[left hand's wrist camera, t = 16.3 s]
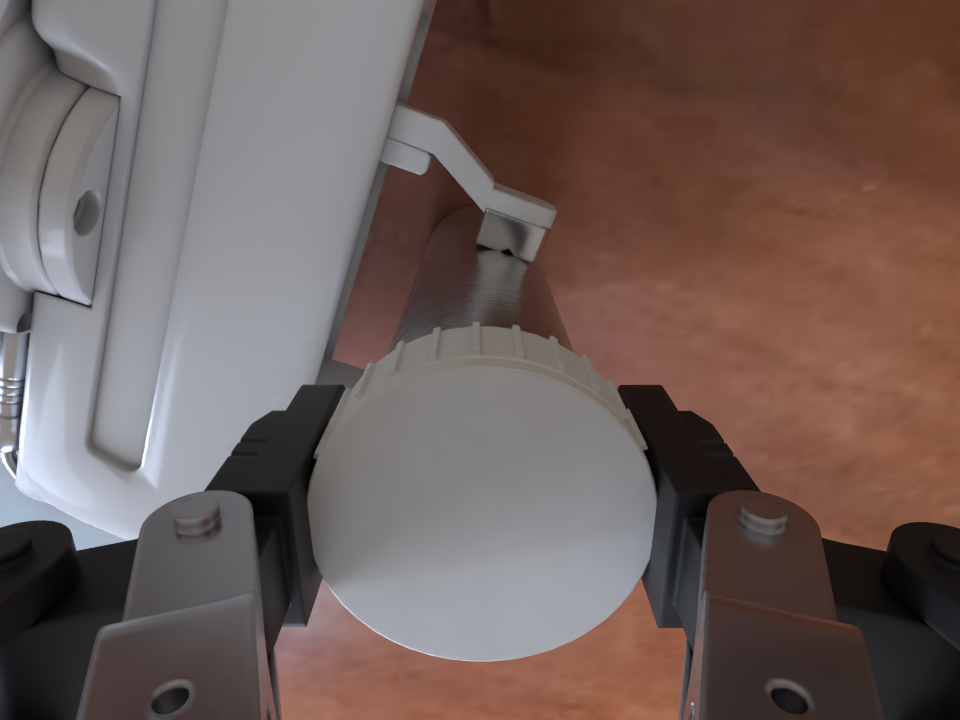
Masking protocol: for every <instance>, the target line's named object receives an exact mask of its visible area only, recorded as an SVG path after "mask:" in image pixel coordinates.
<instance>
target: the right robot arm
mask: <svg viewBox="0 0 960 720" xmlns="http://www.w3.org/2000/svg"><path fill="white" fill-rule="evenodd" d="M436 2H437V0H0V458H1V460H2V462H3V465H4V467H5V468H6V470H7V471H8V473H9V474H10V475H11V477H12V478H13V479H14V480H15V484H16V486H17V488H18V489H19V491H21V492H23V493H24V494H26V495H27V496H29V497H31V498H34V499H36V500H39V501H42V502H46V503H49V504H52V505H53V506H55V507H57V508H58V509H60V510H62V511H63V512H65V513H67V514H69V515H71V516H73V517H75V518H77V519H79V520H81V521H83V522H85V523H88V524H90V525H92V526H95V527H97V528H99V529H102V530H104V531H106V532H109V533H111V534H113V535H116V536H118V537H121V538H123V539H126V540H128V541H129V540H133V539H137V538H138V537H139V532H140V529H141V526H142V524H143V522H144V521H145V519H146V518H147V517H148V516H149V515H150V514H151V513H153V512H154V511H155V510H156V509H158V508H159V507H161V506H162V505H164V504H166V503H168V502H170V501H172V500H174V499H177V498H179V497H182V496H185V495H188V494H192V493H197V492H202V491H204V490H205V489H206V487H207V486H208V484H209V483H210V482H211V480H212V479H213V477H214V476H215V474H216V473H217V472H218V470H219V469H220V467H221V466H222V465H223V463H224V462H225V460H226V459H227V458H228V456H231V452H232V450H233V449H234V448H235V446H236V445H237V443H240V439H241V438H242V436H243V435H244V434H245V432H246V431H247V429H248V428H249V426H250V425H251V424H252V423H254V422H255V421H257V420H258V419H260V418H261V417H263V416H265V415H266V414H268V413H269V412H271V411H272V410H286V409H287V408H288V406H289V404H290V403H291V401H292V400H293V398H294V396H295V395H296V393H297V392H298V390H299V388H300V387H301V386H302V385H344V386H345V389H346V388H347V387H348V388H350V389H353V387H354V386H355V385H356V384H357V382H358V381H359V380H360V378H361V377H362V376H363V373H364V370H363V369H360V368H357V367H354V366H351V365H348V364H345V363H342V362H339V361H336V360H332V358H333V355H334V351H335V348H336V345H337V341H338V338H339V334H340V331H341V327H342V324H343V321H344V317H345V314H346V310H347V307H348V303H349V300H350V297H351V293H352V290H353V286H354V283H355V279H356V276H357V273H358V269H359V266H360V262H361V259H362V255H363V252H364V249H365V245H366V242H367V238H368V235H369V231H370V228H371V225H372V221H373V218H374V214H375V211H376V207H377V204H378V201H379V197H380V194H381V190H382V187H383V184H384V180H385V177H386V173H387V170H388V166H389V164H390V165H393V166H396V167H399V168H401V169H404V170H407V171H410V172H413V173H416V174H418V175H422V174H424V173H425V172H427V170H428V169H429V168H430V167H431V165H432V162H433V159H434V156H436V157H437V159H438V160H439V161H440V162H441V163H442V164H443V166H444V167H445V168H446V169H447V170H448V171H449V173H450V174H451V175H452V176H453V177H454V178H455V179H456V181H457V182H458V183H459V184H460V185H461V186H462V188H463V189H464V190H465V191H466V192H467V193H468V195H469V196H470V197H471V198H472V199H473V200H474V202H475V203H476V204H477V205H478V206H479V207H480V209H481V210H482V213H481V216H480V219H479V222H478V225H477V229H476V243H477V244H480V245H483V246H485V247H488V248H491V249H494V250H498V251H502V250H506V249H510V250H511V252H512V253H513V255H514V256H515V257H517V258H519V259H522V260H525V261H529V262H537V261H538V258H539V256H540V254H541V251H542V249H543V246H544V244H545V241H546V239H547V237H548V234H549V232H550V229H551V226H552V224H553V221H554V219H555V216H556V214H557V212H558V211H557V210H556V208H555V207H554V206H553V205H552V204H550V203H548V202H546V201H544V200H542V199H539V198H536V197H534V196H531V195H528V194H526V193H523V192H520V191H517V190H515V189H512V188H509V187H507V186H504V185H501V184H498V183H496V182H495V181H494V177H493V175H492V174H491V173H490V172H489V171H488V169H487V168H486V167H485V166H484V164H483V163H482V162H481V161H480V160H479V158H478V157H477V156H476V155H475V154H474V152H473V151H472V150H471V149H470V147H469V146H468V145H467V144H466V143H465V141H464V140H463V139H462V138H461V136H460V135H459V134H458V133H457V132H456V130H455V129H454V128H453V127H452V125H451V124H450V123H449V122H448V121H447V120H446V119H444V118H441V117H438V116H436V115H433V114H430V113H428V112H425V111H422V110H420V109H417V108H415V107H412V106H409V105H407V101H408V98H409V94H410V91H411V88H412V84H413V81H414V77H415V74H416V70H417V67H418V64H419V60H420V57H421V53H422V50H423V46H424V43H425V40H426V36H427V33H428V29H429V26H430V23H431V19H432V16H433V12H434V9H435V5H436ZM17 450H19V452H18V457H17V455H16V451H17Z"/></svg>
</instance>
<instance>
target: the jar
mask: <svg viewBox="0 0 960 720" xmlns="http://www.w3.org/2000/svg"><path fill="white" fill-rule="evenodd" d="M481 213H482V210H481V209H480V207H479V206H478V205H472V206H467V207H463V208H461V209H458V210H456V211H454V212H452V213H451V214H449V215H448V216H446V217H445V218H444V219H443V220H442V221H441V222H440V223H439V224H438V225H437V227H436V228H435V229H434V231H433V233H432V234H431V237H430V239H429V241H428V244H427V247H426V250H425V252H424V255H423V258H422V261H421V264H420V266H419V269H418V272H417V275H416V277H415V280H414V283H413V286H412V288H411V291H410V294H409V297H408V300H407V302H406V305H405V308H404V311H403V313H402V316H401V319H400V322H399V324H398V327H397V330H396V333H395V336H394V338H393V341H392V344H391V347H390V349H389V352H388V354H389V353H391V352H392V351H394V350H395V349H396V346H397V343H398V342H400V341H402V340H404V342H405V343H406V344H407V343H408V342H411V341H413V340H416V339H418V338H421V337H423V336H426V335H428V334H432V333H433V329H434V328H437V327H440V328H441V331H444V330H448V329H454V328H462V327H470V326H473V322H480V326H494V327H502V328H510V329H512V326H513V325H518V326H520V330H521V331H524V332H528V333H532V334H536V335H538V336H541V337H543V338H546V339H548V340H549V338H550V336H553V337H555V338H557V340H558V343H559V345H561V346H563V347H565V348H566V349H568V350H570V351H572V352H573V353H574V351H573V349H572V346H571V343H570V341H569V338H568V335H567V333H566V330H565V328H564V325H563V322H562V320H561V317H560V314H559V312H558V309H557V306H556V304H555V301H554V298H553V296H552V293H551V290H550V288H549V285H548V282H547V280H546V277H545V274H544V272H543V269H542V266H541V264H540V261H539V258H538V261H537V262H529V261H525V260H522V259H519V258H517V257H515V256H514V255H513V253H512V252H511V250H510V249H506V250H502V251H498V250H494V249H491V248H488V247H485V246H483V245H480V244H477V243H476V229H477V225H478V222H479V219H480V216H481Z"/></svg>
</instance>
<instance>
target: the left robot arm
mask: <svg viewBox="0 0 960 720" xmlns="http://www.w3.org/2000/svg"><path fill="white" fill-rule="evenodd" d="M345 390H346V389H345V386H344V385H302V386H301V387H300V388H299V390H298V392H297V393H296V395H295V396H294V398H293V400H292V401H291V403H290V404H289V406H288V408H287V409H286V410H272V411H271V412H269V413H268V414H266V415H265V416H263V417H261V418H260V419H258V420H257V421H255V422H254V423H252V424H251V425H250V426H249V428H248V429H247V431H246V432H245V434H244V435H243V436H242V438H241V439H240V443H237V445H236V446H235V448H234V449H233V450H232V452H231V456H228V458H227V459H226V460H225V462H224V463H223V465H222V466H221V467H220V469H219V470H218V472H217V473H216V474H215V476H214V477H213V479H212V480H211V482H210V483H209V484H208V486H207V487H206V489H205V490H204V491H202V492H197V493H192V494H188V495H185V496H182V497H179V498H177V499H174V500H172V501H170V502H168V503H166V504H164V505H162V506H161V507H159V508H158V509H156V510H155V511H154V512H153V513H151V514H150V515H149V516H148V517H147V518H146V519H145V521H144V522H143V524H142V526H141V529H140V532H139V537H138V538H137V539H133V540H129V541H125V542H120V543H115V544H110V545H104V546H99V547H94V548H89V549H84V550H79V551H76V548H75V544H74V541H73V537H72V534H71V532H70V529H69V528H68V527H66V526H65V525H63V524H61V523H58V522H54V521H45V520H43V521H28V522H22V523H16V524H12V525H8V526H5V527H1V528H0V720H282V715H281V704H280V693H279V683H278V672H277V661H276V655H275V649H274V645H275V643H276V640H277V638H278V635H279V632H280V630H281V627H306V626H307V623H308V620H309V617H310V614H311V611H312V608H313V605H314V602H315V599H316V596H317V593H318V590H319V587H320V584H321V581H322V578H323V577H322V575H321V574H320V571H319V569H318V567H317V565H316V562H315V560H314V555H313V548H312V539H311V531H310V522H309V514H308V505H307V492H308V487H309V482H310V478H311V475H312V473H313V470H314V467H315V464H316V462H317V460H316V459H313V456H314V453H315V451H316V449H317V447H318V444H319V442H320V440H321V438H322V436H323V434H324V432H325V430H326V427H327V425H328V423H329V421H330V419H331V417H332V416H333V414H334V412H335V410H336V408H337V406H338V404H339V402H340V399H341V397H342V395H343V393H344V391H345ZM617 391H618V393H619V395H620V397H621V399H622V401H623V403H624V406H625V408H626V409H629V410H630V412H631V414H632V416H633V418H634V420H635V422H636V424H637V426H638V428H639V430H640V432H641V434H642V437H643V439H644V441H645V443H646V445H647V447H648V449H647V450H644V451H643V452H644V454H645V456H646V458H647V461H648V463H649V466H650V469H651V472H652V474H653V477H654V480H655V485H656V490H657V505H656V514H655V522H654V531H653V539H652V547H651V554H650V560H649V563H648V565H647V567H646V569H645V571H644V573H643V576H642V577H641V578H642V581H643V584H644V587H645V590H646V593H647V596H648V599H649V602H650V605H651V608H652V611H653V614H654V617H655V620H656V623H657V626H658V628H683V629H684V631H685V634H686V636H687V642H686V649H685V655H684V661H683V672H682V683H681V694H680V705H679V715H678V720H960V529H959V528H955V527H951V526H948V525H942V524H937V523H928V522H914V523H907V524H903V525H901V526H899V527H897V528H896V529H895V530H894V531H893V532H892V534H891V537H890V540H889V544H888V547H887V551H881V550H876V549H871V548H866V547H861V546H856V545H850V544H845V543H840V542H836V541H832V540H828V539H825V538H822V537H821V532H820V529H819V526H818V524H817V522H816V521H815V519H814V518H813V517H812V516H811V515H810V514H809V513H807V512H806V511H805V510H804V509H802V508H801V507H799V506H798V505H796V504H794V503H792V502H790V501H788V500H786V499H783V498H781V497H778V496H775V495H772V494H768V493H763V492H761V491H760V490H759V488H758V487H757V486H756V484H755V483H754V481H753V480H752V479H751V477H750V476H749V475H748V473H747V472H746V470H745V469H744V468H743V466H742V465H741V463H740V462H739V461H738V459H737V458H736V457H733V452H732V451H731V449H730V448H729V447H728V445H727V444H726V443H724V440H723V438H722V437H721V436H720V434H719V433H718V431H717V430H716V429H715V427H714V426H713V424H711V423H709V422H708V421H706V420H705V419H703V418H702V417H700V416H698V415H697V414H695V413H694V412H692V411H678V410H677V408H676V407H675V405H674V404H673V402H672V400H671V399H670V397H669V396H668V394H667V393H666V391H665V389H664V388H663V387H662V386H661V385H620V386H619V387H618V390H617Z"/></svg>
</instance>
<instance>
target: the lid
mask: <svg viewBox="0 0 960 720" xmlns="http://www.w3.org/2000/svg"><path fill="white" fill-rule="evenodd" d="M647 449H648V447H647V445H646V443H645V441H644V439H643V437H642V434H641V432H640V430H639V428H638V426H637V424H636V422H635V420H634V418H633V416H632V414H631V412H630V410H629V409H626V408H625V406H624V403H623V401H622V399H621V397H620V395H619V393H618V391H617V389H616V387H615V385H614V383H613V382H612V380H611V379H610V380H608V381H607V382H606V381H605V380H604V378H603V377H602V376H601V375H600V374H599V373H598V372H597V371H596V370H595V369H594V368H593V366H592V364H591V362H590V359H589V358H588V357H587V356H586V355H583V356H582V357H581V358H580V357H579V356H577V355H576V354H575V353H573V352H572V351H570V350H568V349H566V348H565V347H563V346H561V345H559V343H558V340H557V338H555V337H553V336H550V338H549V340H548V339H546V338H543V337H541V336H538V335H536V334H532V333H528V332H524V331H521V330H520V326H518V325H513V326H512V329H510V328H502V327H494V326H480V322H473V326H470V327H462V328H454V329H448V330H444V331H441V328H440V327H437V328H434V329H433V333H432V334H428V335H426V336H423V337H421V338H418V339H416V340H413V341H411V342H408V343H407V344H406V343H405V342H404V340H402V341H400V342H398V343H397V346H396V349H395V350H394V351H392V352H391V353H389V354H388V355H386V356H385V357H384V358H382V359H381V360H380V361H378V362H377V363H376V364H375V363H374V362H373V361H371V362H370V363H368V364H367V366H366V369H365V371H364V373H363V376H362V377H361V378H360V380H359V381H358V382H357V384H356V385H355V386H354V387H353V389H350V388H348V387H347V388H346V390H345V391H344V393H343V395H342V397H341V399H340V402H339V404H338V406H337V408H336V410H335V412H334V414H333V416H332V417H331V419H330V421H329V423H328V425H327V427H326V430H325V432H324V434H323V436H322V438H321V440H320V442H319V444H318V447H317V449H316V451H315V453H314V456H313V459H316V460H317V462H316V464H315V467H314V470H313V473H312V475H311V478H310V482H309V487H308V492H307V505H308V514H309V522H310V531H311V539H312V548H313V555H314V560H315V562H316V565H317V567H318V569H319V571H320V574H321V575H322V577H323V579H324V580H325V582H326V583H327V585H328V587H329V588H330V590H331V591H332V592H333V594H334V595H335V596H336V597H337V598H338V600H339V601H340V602H341V603H342V604H343V606H344V607H346V608H347V609H348V610H349V611H350V612H351V613H352V614H353V615H354V616H355V617H356V618H357V619H359V620H360V621H361V622H363V623H364V624H365V625H367V626H368V627H369V628H371V629H372V630H374V631H375V632H377V633H379V634H381V635H382V636H384V637H386V638H388V639H389V640H391V641H393V642H396V643H398V644H400V645H403V646H405V647H407V648H409V649H412V650H416V651H419V652H422V653H425V654H428V655H432V656H437V657H442V658H447V659H454V660H464V661H500V660H510V659H516V658H521V657H527V656H532V655H535V654H539V653H542V652H545V651H548V650H552V649H554V648H557V647H559V646H561V645H564V644H566V643H568V642H571V641H573V640H574V639H576V638H578V637H580V636H582V635H583V634H585V633H587V632H589V631H590V630H592V629H593V628H594V627H596V626H597V625H599V624H600V623H601V622H603V621H604V620H605V619H606V618H608V617H609V616H610V615H611V614H612V613H613V612H614V611H615V610H616V609H617V608H618V607H620V605H621V604H622V603H623V602H624V601H625V600H626V598H627V597H628V596H629V595H630V594H631V592H632V591H633V590H634V588H635V586H636V585H637V583H638V582H639V580H640V579H641V577H642V576H643V573H644V571H645V569H646V567H647V565H648V563H649V560H650V554H651V547H652V539H653V531H654V522H655V514H656V505H657V490H656V485H655V480H654V477H653V474H652V472H651V469H650V466H649V463H648V461H647V458H646V456H645V454H644V452H643V451H644V450H647Z"/></svg>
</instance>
